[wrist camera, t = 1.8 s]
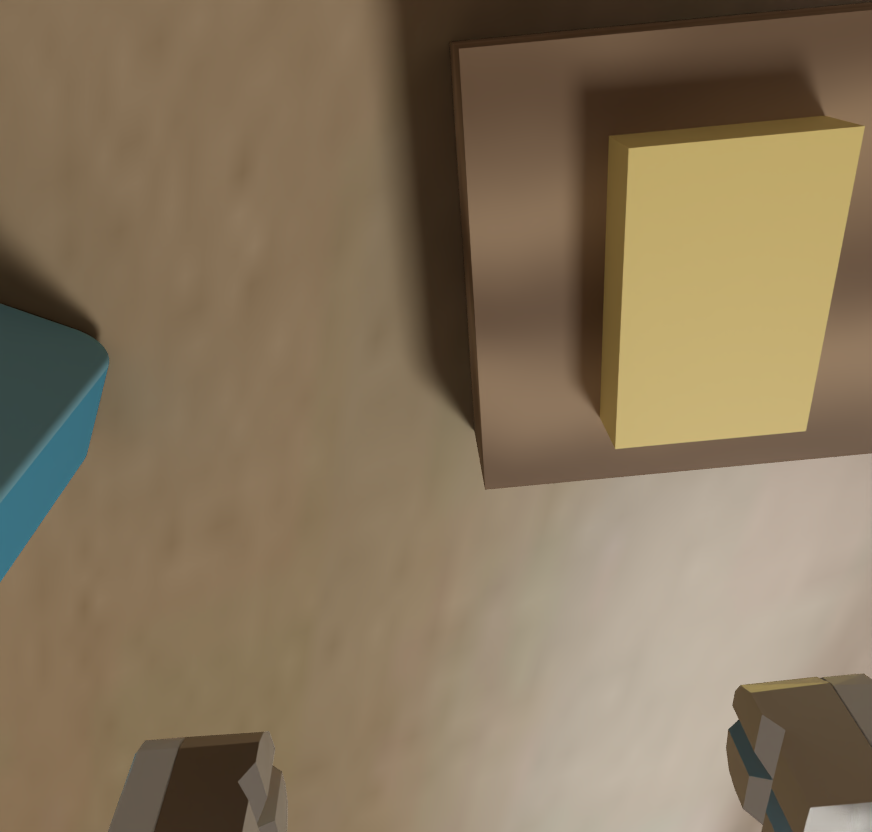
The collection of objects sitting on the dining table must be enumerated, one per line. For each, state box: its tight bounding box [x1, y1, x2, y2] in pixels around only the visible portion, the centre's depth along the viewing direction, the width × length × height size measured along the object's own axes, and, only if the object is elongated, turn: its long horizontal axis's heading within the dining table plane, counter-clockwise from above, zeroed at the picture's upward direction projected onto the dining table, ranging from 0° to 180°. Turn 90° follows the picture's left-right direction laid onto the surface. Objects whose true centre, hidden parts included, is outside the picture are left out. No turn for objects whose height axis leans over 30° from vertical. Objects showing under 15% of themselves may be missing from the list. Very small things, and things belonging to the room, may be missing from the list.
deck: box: [449, 2, 872, 490], centre depth 24 cm, size 14×22×4 cm, turn 95°
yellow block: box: [600, 116, 865, 449], centre depth 22 cm, size 9×6×2 cm, turn 5°
